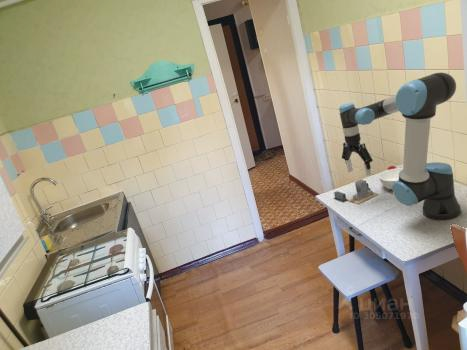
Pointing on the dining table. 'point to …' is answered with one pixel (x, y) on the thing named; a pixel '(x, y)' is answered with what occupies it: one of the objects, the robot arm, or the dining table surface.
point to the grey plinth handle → (343, 195)
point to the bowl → (389, 177)
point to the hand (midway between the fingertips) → (359, 173)
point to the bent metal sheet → (361, 190)
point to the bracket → (392, 167)
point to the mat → (363, 199)
